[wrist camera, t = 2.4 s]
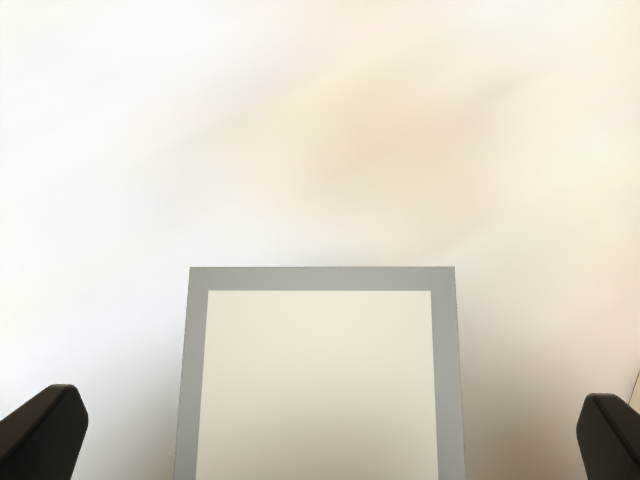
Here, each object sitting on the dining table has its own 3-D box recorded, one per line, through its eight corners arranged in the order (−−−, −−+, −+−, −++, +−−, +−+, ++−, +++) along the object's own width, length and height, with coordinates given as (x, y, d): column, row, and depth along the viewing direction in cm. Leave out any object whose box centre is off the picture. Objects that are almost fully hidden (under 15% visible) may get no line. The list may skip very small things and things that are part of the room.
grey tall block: (410, 462, 16) (475, 581, 7) (270, 458, 16) (158, 567, 7) (406, 318, 17) (457, 263, 8) (274, 317, 17) (183, 263, 8)
